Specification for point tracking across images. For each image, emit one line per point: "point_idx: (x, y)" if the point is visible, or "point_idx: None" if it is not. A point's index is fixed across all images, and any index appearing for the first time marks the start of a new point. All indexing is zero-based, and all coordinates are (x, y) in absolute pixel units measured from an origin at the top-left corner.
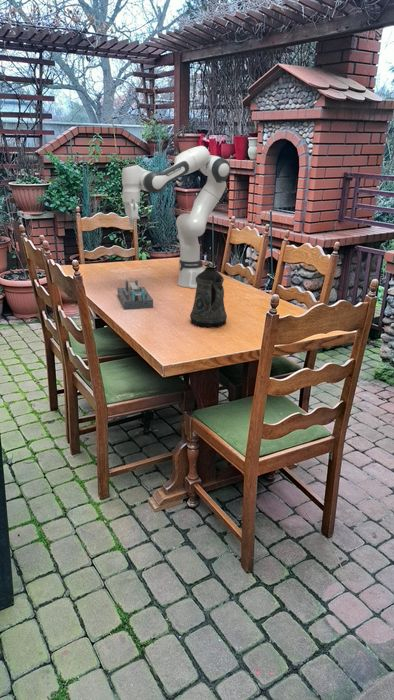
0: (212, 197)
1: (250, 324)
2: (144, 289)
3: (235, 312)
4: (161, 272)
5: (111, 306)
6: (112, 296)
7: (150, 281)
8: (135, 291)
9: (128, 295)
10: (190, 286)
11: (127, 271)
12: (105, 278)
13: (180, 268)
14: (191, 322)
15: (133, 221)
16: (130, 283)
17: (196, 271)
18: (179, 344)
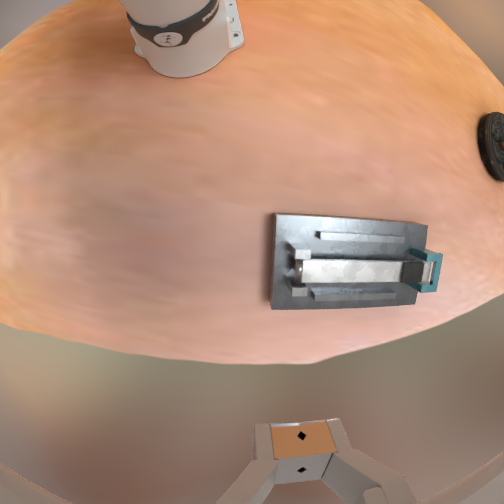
0: None
1: (500, 91)
2: (317, 221)
3: (457, 66)
4: (32, 120)
5: (370, 325)
6: (277, 315)
7: (112, 160)
8: (421, 278)
9: (395, 292)
10: (236, 46)
11: (9, 221)
12: (67, 298)
13: (181, 42)
14: (496, 179)
15: (375, 472)
16: (318, 278)
17: (222, 3)
18: None
